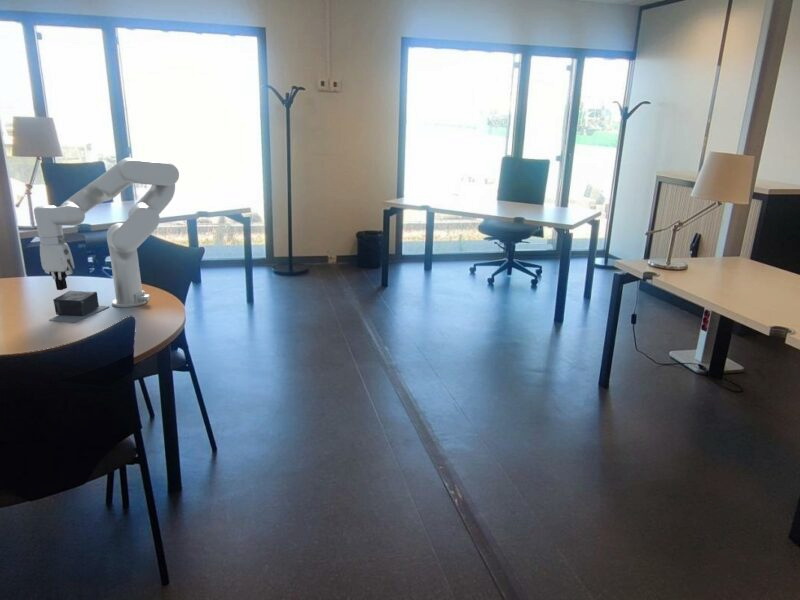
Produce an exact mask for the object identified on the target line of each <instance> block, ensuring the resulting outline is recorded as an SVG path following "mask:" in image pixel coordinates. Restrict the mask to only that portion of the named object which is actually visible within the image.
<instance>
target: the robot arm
mask: <svg viewBox="0 0 800 600" xmlns="http://www.w3.org/2000/svg"><path fill="white" fill-rule="evenodd" d="M179 178H180V171H179V169H178V168H177V166H176V165H174V164H173V163H170V162H167V161H163V160H158V161H149V160H141V159H137V158H136V159H135V158H133V157H125V158H122V159H120V160H119V162H117V163H116V164H114V165H113V166H112V167H110V168H109V169H108V170H107V171H104V172H103V174H101V175H100V176H98V177H97V178H96V179H95V180H93V181H91V182H90V183H88V184H87V185H86V186H84V187H82V188H81V189H80V190H78V191H77V192H75V193H74V194H73V195H71V196H70V197H69V198H68V199H66V200H65V201H64V202H62V203H61V204H60V205H59V206H56V205H49V204H46V205H39V206H36V207H34V209H33V214H34V219H35V223H36V227H37V233H38V239H39V242H40V243H39V256H40V257H39V258H40V263H41V268H42V270H44V273H45V274H48V275H50V276H51V277H52V279H53V280H54V282H55V287H56V290H57V291H64V290H65V289H68V284H67V280H66V279H67V277H68V276H69V275H72V274H73V270H74V269H75V263H74V258H73V255H72V254H73V253H72V251H71V248H70V246H69V245H68V243H67V238H66V237H65V235H64V230H63V226H69V227H72V226H73V227H74V226H75V227H76V226H79V225H81V224H83V222H84V221H85V218H86V214H87V213H88V212H89V211H90V210H91V209H93V208H95V207H96V206H97V205H99V204H102V203H105V202H108V201H111V200H113V199H114V198H116V197H117V196H118V195H119V194H121V193H122V192H123V191H124V190H126V189H127V188H128V187H130V186H131V185H132V184H140V185H150V187H149V189H148V191H146V193H145V194H144V195H143V196H142V197H141V198H139V200H138V201H137V202H136V203H135V204H134V205H132V206H131V208H130V209H129V211H128V214H127V215H128V217H127V219H126V220H124V222H118V223H114V224H111V226H110V227H109V228H108V229H107V232H106V242H107V247H108V251H109V256H110V263H111V271H112V279H113V286H114V294H115V299H113V300H112V301H111V304H112V306H114V307H117V308H133V307H138V306H143V305H145V304H146V303H148V302H149V301H150V300H151V294H146V291H145V290H143V287H142V280H141V270H140V264H139V255H138V254H139V253H138V250H137V249H138V248H140V246H141V245H142V244H143V243H144V242H145V241H146V240H147V239H148V238H149V237H150V236H151V235H152V234H153V233H154V231H155V230H156V229H157V228H158V226H159V224H160V215H161V213H162V212H163V211H164V210H165V209H166V208H167V206H168V205H169V204H170V202H171V201H172V200H173V198H174V195H175V191H176V183H177V182H178V180H179Z"/></svg>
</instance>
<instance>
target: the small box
mask: <svg viewBox="0 0 800 600" xmlns="http://www.w3.org/2000/svg"><path fill="white" fill-rule="evenodd" d="M53 306H54V309H55V315H56V316H58V315H74V316H84V315H86V314H88V313H89V312H91V311H92V310H94V309H96V308H97V307H99V306H100V304H99V298H98V291H79V290H69V291H67V292H65V293H63V294H61V295H59V296H57V297H55V298H54V299H53Z"/></svg>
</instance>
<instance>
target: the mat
mask: <svg viewBox="0 0 800 600" xmlns="http://www.w3.org/2000/svg"><path fill="white" fill-rule="evenodd" d="M109 308H110V306H109V305H99V307H97V308H96V309H94V310H92V311H91V312H89V313H88V314H86V315H84V316H74V315H56V316H54V317H51V318H49V319H48V321H49V322H50V321H51V322H59V323H69V324H76V323H79V322H81V321H83V320H84V319H87V318H90V317H91V316H94V315H96V314H98V313H100V312H102V311H105V310H107V309H109Z"/></svg>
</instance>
